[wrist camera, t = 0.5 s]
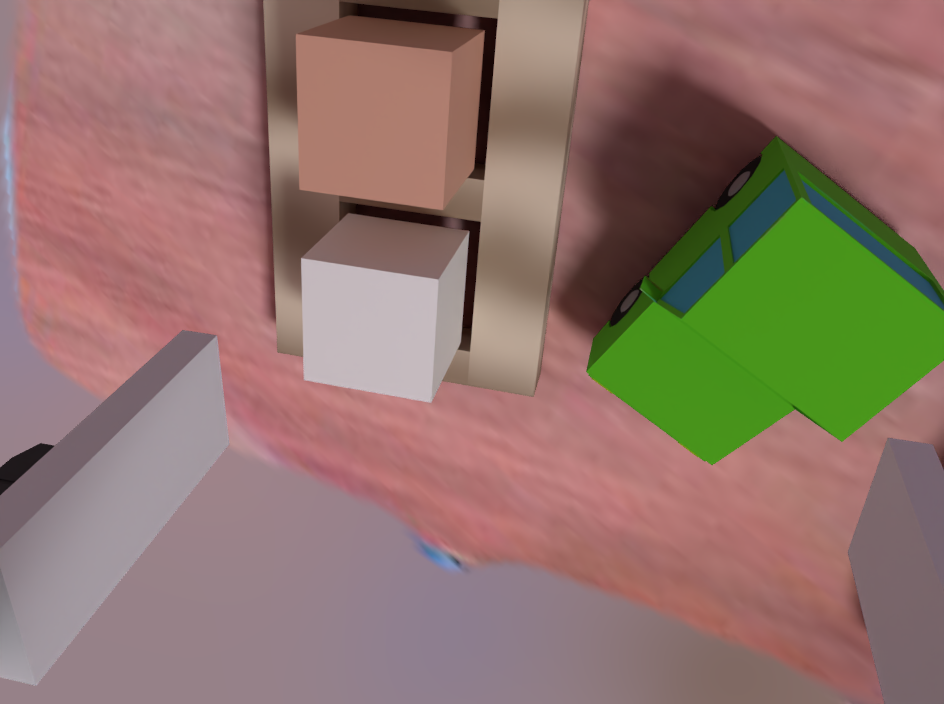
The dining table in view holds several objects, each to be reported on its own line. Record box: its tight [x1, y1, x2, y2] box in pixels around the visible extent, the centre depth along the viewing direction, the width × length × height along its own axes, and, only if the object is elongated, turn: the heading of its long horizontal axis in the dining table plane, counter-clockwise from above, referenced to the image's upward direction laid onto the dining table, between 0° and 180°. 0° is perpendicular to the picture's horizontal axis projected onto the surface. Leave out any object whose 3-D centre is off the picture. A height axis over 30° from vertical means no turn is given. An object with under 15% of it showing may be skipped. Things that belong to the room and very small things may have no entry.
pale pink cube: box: [301, 213, 469, 403], centre depth 40 cm, size 6×6×6 cm
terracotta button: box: [296, 15, 485, 210], centre depth 35 cm, size 6×6×6 cm
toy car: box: [586, 136, 944, 465], centre depth 38 cm, size 10×13×10 cm
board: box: [263, 0, 589, 397], centre depth 39 cm, size 29×14×3 cm, turn 176°
